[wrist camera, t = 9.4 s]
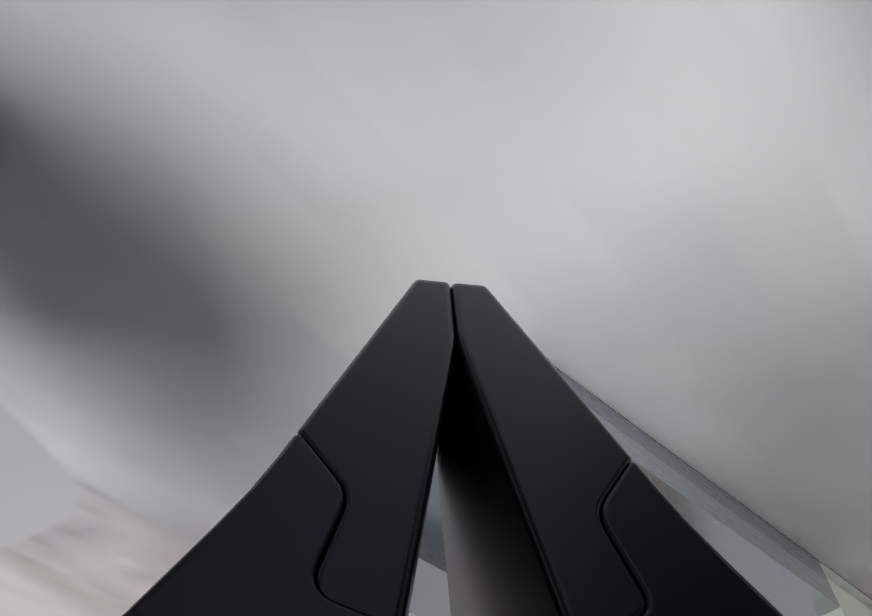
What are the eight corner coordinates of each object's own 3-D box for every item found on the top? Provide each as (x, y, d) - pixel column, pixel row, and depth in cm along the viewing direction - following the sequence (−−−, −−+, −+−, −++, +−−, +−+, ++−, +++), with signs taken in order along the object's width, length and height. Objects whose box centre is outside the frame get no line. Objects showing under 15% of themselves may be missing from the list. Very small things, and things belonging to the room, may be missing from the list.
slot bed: (310, 513, 31) (303, 559, 30) (519, 341, 26) (526, 384, 24) (608, 670, 39) (616, 715, 37) (818, 561, 33) (840, 607, 32)
